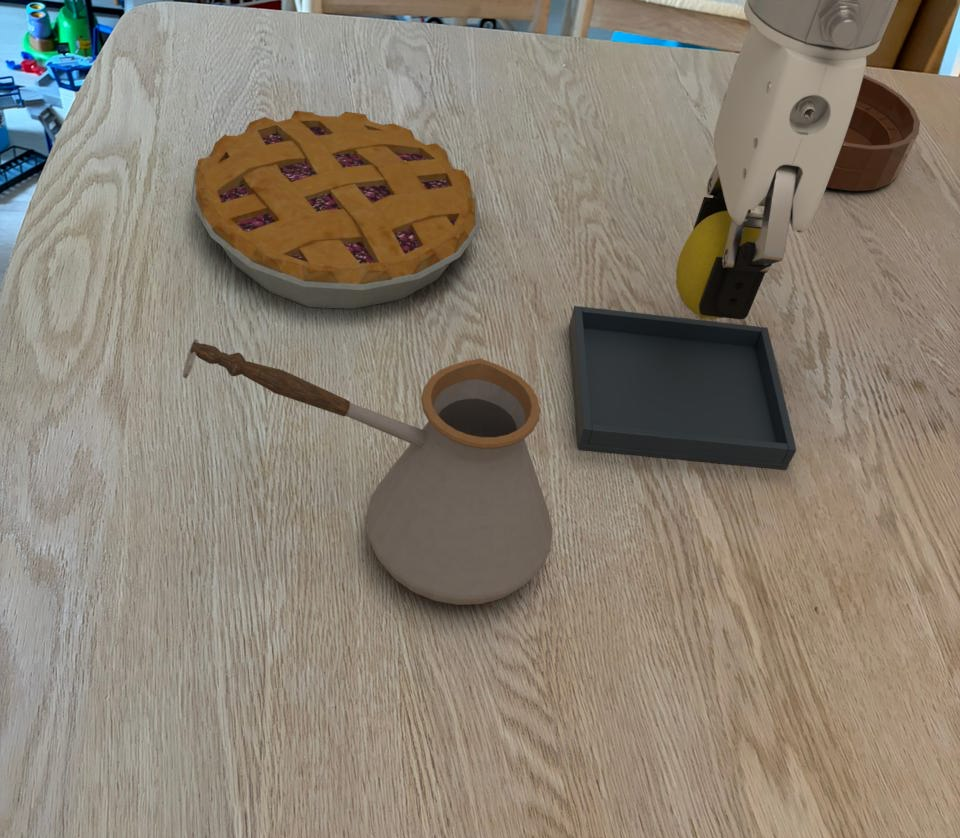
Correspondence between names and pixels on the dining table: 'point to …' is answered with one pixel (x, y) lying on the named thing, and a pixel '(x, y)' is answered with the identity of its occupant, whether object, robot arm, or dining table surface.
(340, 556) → the dining table surface
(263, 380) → the coffee pot
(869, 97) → the bowl
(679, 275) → the lemon
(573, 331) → the tray
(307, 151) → the pie
